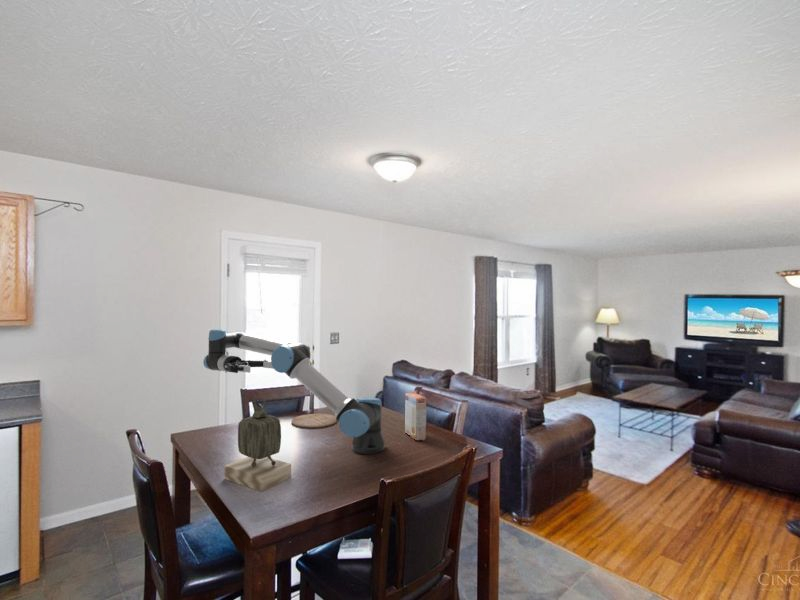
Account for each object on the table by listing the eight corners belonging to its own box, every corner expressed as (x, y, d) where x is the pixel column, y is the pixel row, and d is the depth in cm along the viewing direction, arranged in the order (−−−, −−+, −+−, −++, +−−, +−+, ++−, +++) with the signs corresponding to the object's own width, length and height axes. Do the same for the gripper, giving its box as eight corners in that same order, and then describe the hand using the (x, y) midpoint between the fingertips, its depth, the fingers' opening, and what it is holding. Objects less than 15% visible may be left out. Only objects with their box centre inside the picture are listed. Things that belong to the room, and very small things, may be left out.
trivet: (283, 422, 225) (283, 419, 225) (321, 414, 243) (321, 411, 243) (306, 432, 207) (306, 428, 207) (345, 423, 225) (345, 419, 225)
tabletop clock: (280, 465, 150) (281, 398, 151) (260, 473, 143) (261, 403, 143) (255, 457, 158) (256, 393, 159) (235, 464, 150) (236, 398, 151)
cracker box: (426, 440, 195) (427, 397, 196) (415, 441, 193) (415, 398, 193) (415, 432, 208) (415, 392, 209) (404, 433, 206) (404, 392, 206)
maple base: (290, 477, 151) (291, 463, 151) (261, 491, 139) (262, 477, 139) (254, 466, 161) (254, 454, 161) (224, 479, 149) (224, 465, 149)
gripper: (251, 368, 197) (283, 372, 187) (205, 375, 175) (238, 380, 165) (252, 353, 197) (283, 356, 187) (206, 358, 175) (238, 362, 165)
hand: (262, 367), depth 176 cm, fingers open, 13 cm apart
